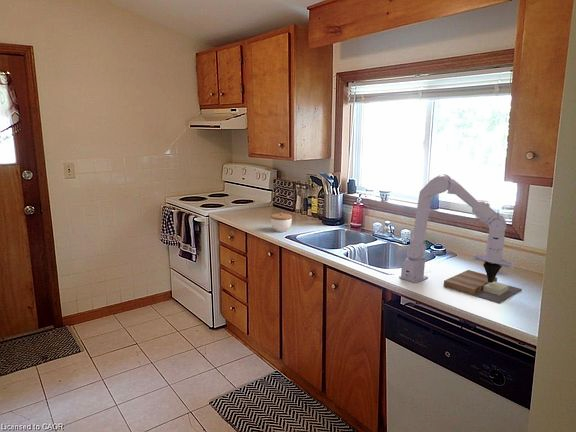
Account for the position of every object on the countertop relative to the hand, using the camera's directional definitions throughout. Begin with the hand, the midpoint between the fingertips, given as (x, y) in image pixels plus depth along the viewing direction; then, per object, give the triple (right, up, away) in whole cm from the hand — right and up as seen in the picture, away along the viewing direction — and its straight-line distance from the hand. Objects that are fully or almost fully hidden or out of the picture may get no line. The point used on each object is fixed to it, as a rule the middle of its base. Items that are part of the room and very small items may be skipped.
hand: (490, 281), depth 164 cm
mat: (+2, -4, -2) cm, 5 cm away
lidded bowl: (-82, +16, +91) cm, 124 cm away
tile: (+1, -3, -1) cm, 4 cm away
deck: (-5, -2, +6) cm, 8 cm away
